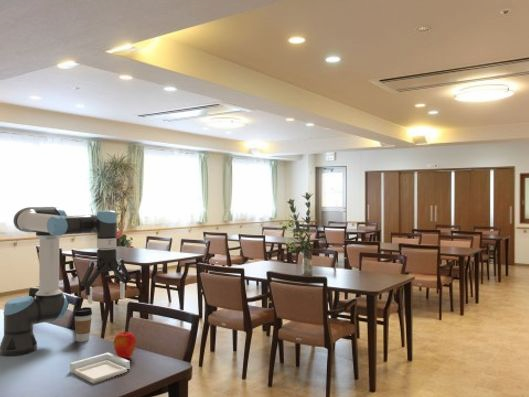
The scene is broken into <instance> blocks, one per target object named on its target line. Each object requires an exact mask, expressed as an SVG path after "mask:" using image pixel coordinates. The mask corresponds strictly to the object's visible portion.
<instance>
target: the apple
mask: <svg viewBox="0 0 529 397" xmlns="http://www.w3.org/2000/svg"><path fill="white" fill-rule="evenodd" d="M136 343H137V339H136V337H135V335H134V333H132V332H130V331H121V332H120V331H119V333H117V334H116V335H115V337H114V339H113V347H114V348H113V349H114V350H115V353H116V354H115V355H116V356H119V357H121V358H124V359H126V360H128V359H130V358H131V357H132V356H133V354H134V351H135V348H136ZM127 358H128V359H127Z"/></svg>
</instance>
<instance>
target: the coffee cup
mask: <svg viewBox="0 0 529 397" xmlns="http://www.w3.org/2000/svg"><path fill="white" fill-rule="evenodd" d="M92 315H93V310H92V307H89V306H88V307H87V306H85V307H80V308H76V309H75V310H74V312H73V316H74V328H75V340H76V342H78V343H79V342H80V343H81V342H87V341H89V340H90V337H91V334H90V333H91V327H92V326H91V325H92Z"/></svg>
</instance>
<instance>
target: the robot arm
mask: <svg viewBox="0 0 529 397" xmlns="http://www.w3.org/2000/svg"><path fill="white" fill-rule="evenodd" d="M12 221H13V225H14V227H15V228H16V229H17V230H18V231H20V232H22V233H23V232H24V233H35V237H37V239H38V240H39V244H38V245H39V250H38V251H39V253H38V254H39V258H38V260H39V262H38V263H39V264H38V265H39V267H38V269H39V270H38V271H39V272H38V274H39V275H38V277H39V278H38V279H39V280H38V281H39V282H38V283H39V284H38V288H39V289H38V290H37V291H36V292H35V298H34V297H33V296H31V295H24V296H19V297H18V296H17V297H14V298H12V299H9V300H7V301H6V302H5V304H4V307H3V336H2V340H1V342H0V355H2V356H5V357H8V356H9V357H11V356H15V357H16V356H21V355H27V354H30V353H33V352H34V351H36V350H37V349H38V341H37V339H36V335H35V333H34V325H36V324H42V323H47V322H53V321H56V320H60V319H62V318H63V317H65V315H66V313H67V311H68V306H69V305H68V303H69V301H68V300H67V299H68V298H67V296H66V295H65V294H63V291H62V289H60V239H61V237H63V235H64V236H65V235H80V234H82V235H83V234H96V261H89V262H88V268H87V269H86V271H85V274H84V275H83V278H82V280H81V282H80V286H82V287H84V288H85V292H84V294H85V296H87V303H88V304H89V305H91V304H93V287H92V285H93V284H94V283H95V281H96V280H97V278H99V275H101V274H102V273H107V272H113V273H114V274H115V275H116V277H117V278H118V279H119V280H120V281H121V282H119V288H120V289H119V299H122V300H125V298H126V297H125V296H126V292H125V291H127V287H128V286H127V285H128V282H130V281H131V280H132V277H131V275H130V273H129V271H128V269H127V268H126V265H125V261H124V259H123V258H119V259H117V249H116V248H117V233H118V232H117V228H118V226H117V225H118V224H117V223H118V219H117V212H116V211H114V210H98V211H97V214H87V215H86V214H85V215H68V214H67V213H66V211H65V210H64V209H63V208H62V207H59V206H35V207H34V206H32V207H31V206H29V207H24V208H21V209H20V210H18V211H17V212H16V213H15V214H14V216H13V220H12ZM117 264H118V266H119V269H120V270H121V272H120V270H118V268H117V267H116V266H117ZM95 267H97V268H96V269H95V271H94V268H95ZM93 271H94V273H93ZM92 273H93V274H92Z"/></svg>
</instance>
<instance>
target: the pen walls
mask: <svg viewBox="0 0 529 397" xmlns="http://www.w3.org/2000/svg"><path fill="white" fill-rule="evenodd" d="M106 360H108V361H111V362H113V363H115V364H118V365H120V366H123V367H125V368H127V369H131V367H130V366H131V363H130V362H131V361H130V360H128V359H124V358H121V357H119V356H117V354H113V353H110V352H105V353H101V354H97V355H94V356H91V357H87V358H84V359H79V360H75V361H74V362H70V363H69V371H70V372H69V373H71V374H74V373H75V369H79V368H82V367H85V366H89V365H92V364H96V363H99V362H102V361H106Z"/></svg>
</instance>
